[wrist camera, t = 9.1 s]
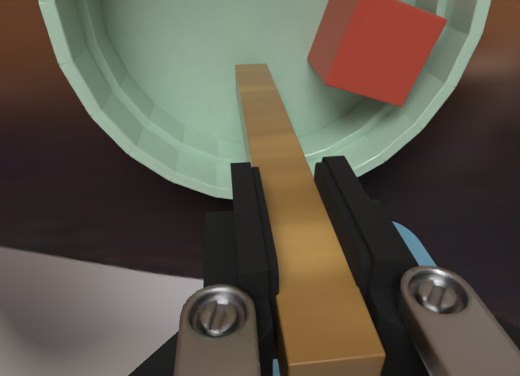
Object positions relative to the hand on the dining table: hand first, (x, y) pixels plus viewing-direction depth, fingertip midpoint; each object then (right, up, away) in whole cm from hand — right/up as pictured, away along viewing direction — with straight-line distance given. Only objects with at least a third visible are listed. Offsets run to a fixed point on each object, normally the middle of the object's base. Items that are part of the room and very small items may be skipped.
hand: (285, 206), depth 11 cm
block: (+4, +9, +9) cm, 13 cm away
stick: (-1, +6, +9) cm, 11 cm away
